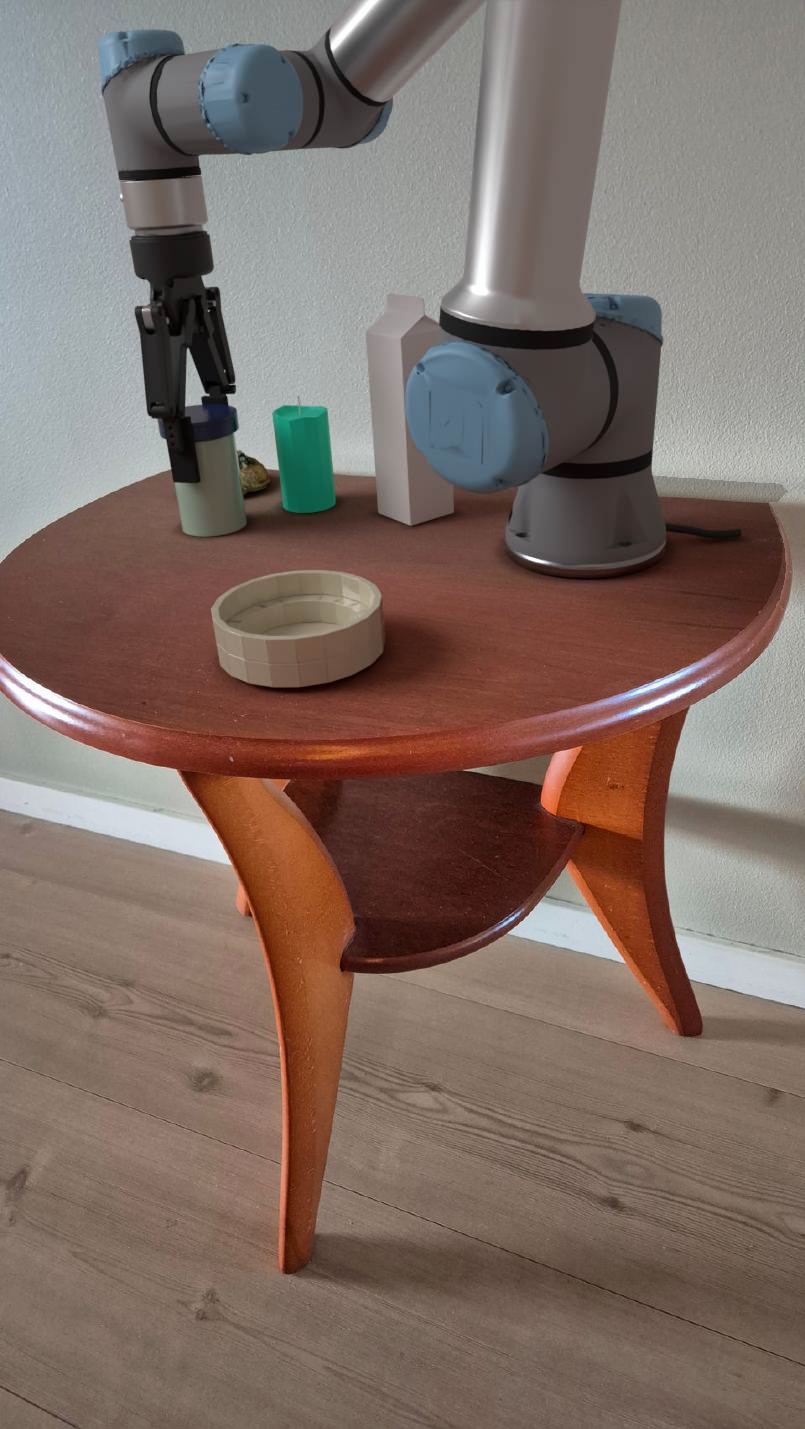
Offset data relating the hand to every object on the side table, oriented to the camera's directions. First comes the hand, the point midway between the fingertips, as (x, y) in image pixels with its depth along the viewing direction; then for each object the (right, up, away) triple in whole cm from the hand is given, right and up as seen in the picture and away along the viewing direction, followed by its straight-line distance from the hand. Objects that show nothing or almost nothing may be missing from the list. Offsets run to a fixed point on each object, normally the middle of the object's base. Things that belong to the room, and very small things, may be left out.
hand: (205, 469), depth 104 cm
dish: (+13, -21, -25) cm, 35 cm away
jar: (0, -5, +3) cm, 6 cm away
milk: (+22, -4, +3) cm, 23 cm away
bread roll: (-1, +1, +15) cm, 15 cm away
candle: (+10, -2, +8) cm, 13 cm away
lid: (0, +5, -3) cm, 5 cm away
